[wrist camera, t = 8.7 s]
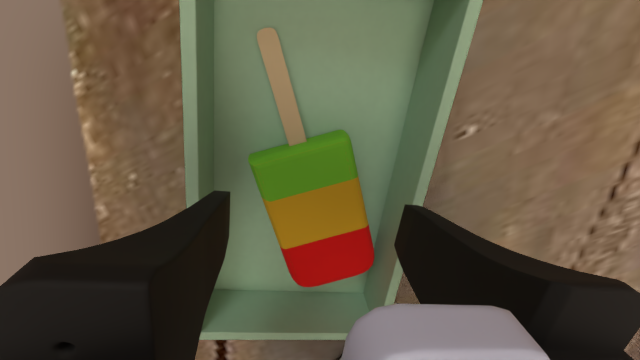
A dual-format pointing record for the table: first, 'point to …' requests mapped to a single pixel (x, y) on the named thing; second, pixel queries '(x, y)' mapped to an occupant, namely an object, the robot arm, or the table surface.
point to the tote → (317, 118)
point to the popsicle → (311, 190)
